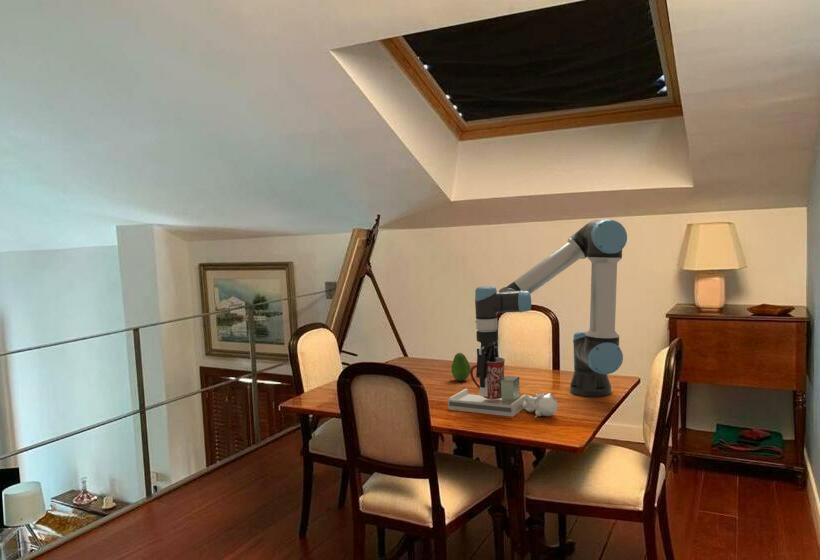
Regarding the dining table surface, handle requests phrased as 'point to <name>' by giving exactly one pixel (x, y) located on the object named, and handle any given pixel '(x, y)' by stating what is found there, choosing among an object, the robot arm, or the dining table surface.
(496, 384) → the mug
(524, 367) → the dining table surface
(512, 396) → the tea tin
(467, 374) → the avocado
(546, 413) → the figurine
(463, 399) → the shelf
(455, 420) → the dining table surface
